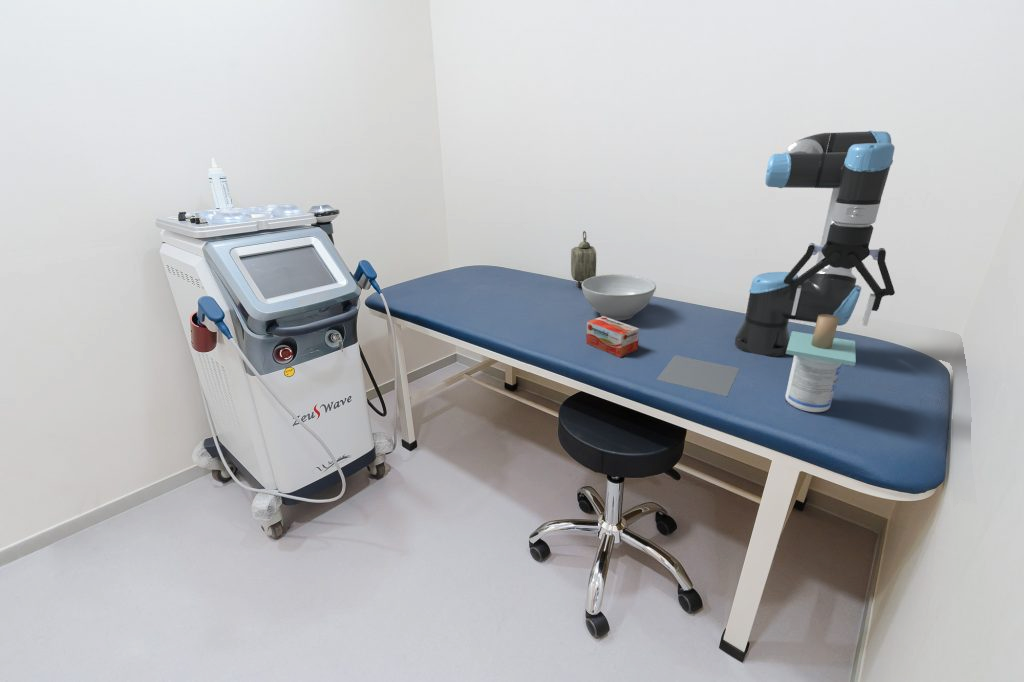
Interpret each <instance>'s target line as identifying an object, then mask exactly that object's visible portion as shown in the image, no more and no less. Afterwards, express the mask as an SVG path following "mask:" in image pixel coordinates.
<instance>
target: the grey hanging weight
mask: <svg viewBox="0 0 1024 682" xmlns="http://www.w3.org/2000/svg"><path fill="white" fill-rule="evenodd" d="M582 239H583V240H582V241H581V242H579V244H578V246H574V247H573V248H571V251H570V252H571V253H570V275H571V277H572V279H573V280H574V281H576V282H577V284H575V285H576V286H575V287H577V288H580V287H581V285H580V283H582V282H583V281H584V280H586V279H588V278H591V277H595V276H597V251H596V249H595V247H594V246H592V245H590V243H589V241H587V232H586V231H585V230H583V231H582Z"/></svg>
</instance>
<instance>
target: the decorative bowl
mask: <svg viewBox="0 0 1024 682" xmlns="http://www.w3.org/2000/svg"><path fill="white" fill-rule="evenodd" d="M581 289H582V292H583V296H584V297H585V300H586V301H587V303H588V305H589V306H590V307H591V308H593V310H595V312H597V313H598V314H599V316H600V317H602V316H604V317H607V318H610V319H613V320H616V321H626V319H627V320H630V319H632V318H633V317H634V315H636V314H638V313H639V312H641V311H642V310H644V308H645V307H647V305H648V304H649V303H650V302H651V300H652V298H653V296H654V294H655V292H656V289H657V285H656V283H655V282H654V281H652V280H650V279H648V278H645V277H641V276H636V275H631V274H630V275H629V274H602V275H596V276H595V277H591V278H588V279H586V280H584V281H583V282H581Z"/></svg>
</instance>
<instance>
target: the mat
mask: <svg viewBox="0 0 1024 682" xmlns="http://www.w3.org/2000/svg"><path fill="white" fill-rule="evenodd" d="M739 371H740V367H735V366H729V365H725V364H720V363H715V362H710V361H706V360H699V359H695V358H691V357H686V356H682V355H681V356H680V355H676V354H675V355H674V356H673V357H672V358H671V359H670V361H669V362H668V364H667V365H666V366H665V367H664V369H663V370H662V372H660V374H659V375H658V376H657V378H656V381H660V382H664V383H668V384H672V385H677V386H681V387H685V388H690V389H694V390H698V391H701V392H707V393H711V394H714V395H720V396H723V397H728V395H729V393H730V391H731V389H732V386H733V384H734V382H735V381H736V380H735V379H736V378H737V375H738V373H739Z"/></svg>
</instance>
